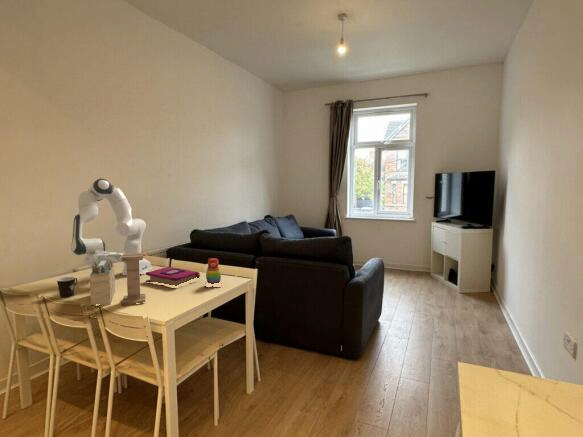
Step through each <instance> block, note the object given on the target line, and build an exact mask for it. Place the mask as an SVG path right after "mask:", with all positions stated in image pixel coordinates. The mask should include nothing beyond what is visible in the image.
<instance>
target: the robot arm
mask: <svg viewBox="0 0 583 437" xmlns="http://www.w3.org/2000/svg"><path fill="white" fill-rule="evenodd" d="M103 199H106V200H107V201H108V202H109V204H110V207H111V208H112V210H113V212H114V215H115V217H116V221H117V225H116V232H117V234H118V235H119V236H121V237H126V240H125V242H124V243H123V252H115V251H106V243H105V242H104V240H103V239H101V238H100V237H96V238H95V237H94V238H83V225H84V224H86V223H89V222H91V221H93V220H96V219H97V217H98V216H99V205H98V202H99V201H102V200H103ZM77 207H78V213H77V214H76V215H75V216H74V219H73V225H72V226H73V227H72V238H71V239H72V241H71V247H70V248H71V249H70V250H71V251H72V254H73V253H74V254H75V255H76V256H81V255H85V256H84V257H83V264H85V265H87V266H89V267H92V265H94V262H95V261H97V265H98V264H99V262H100V261H101V259H108V258H109V261H111V260H112V263H117V261H122V256H123V254H128V253H143V260H139V268H140V274H144V273H146V272H148V270H149V269H152V268H153V267H152V264H151V262H150V261H149V260H147V259H146V258H144V257H146V256H147V253H144V252H142V241H143V240H142V239H143V237H144V236H143V235H144V232H145V230H146V228H147V223H146V221H144V219H142V218H133V216H132V211H133V208H132V207H131V204H130V203H129V201H128V199H127V197H126V195H125V194H124V193H123V191H122V190H121V189H120V188H119V187H114V185H113V184H112V183H111V182H110V181H109V180H108V179H106V178H98V179H96V180H95V181H94V182H93V183H92V184H91V185H90V187H89V188H88V190H85V191H82V192H81V193H79V195H78V198H77ZM123 262H124V263H123V270H122V275H123V276H126V277H127V265H126V261H123ZM144 275H145V274H144Z"/></svg>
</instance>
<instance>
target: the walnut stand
mask: <svg viewBox="0 0 583 437" xmlns="http://www.w3.org/2000/svg"><path fill="white" fill-rule="evenodd" d="M143 253H144V252H141V253H128V254H123V256H122V260H121V262H124V261H126V265H127V276H126V284H127V286H126V287H127V291H126V292H127V295H123V297H122V302H121V305H122V307H125V305H128V306H130V305H129V304H136V303H143V302H145V303H146V293H141V275H140V268H139V260H143V257H144V256H143Z"/></svg>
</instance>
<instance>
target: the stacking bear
mask: <svg viewBox="0 0 583 437" xmlns="http://www.w3.org/2000/svg"><path fill="white" fill-rule="evenodd" d="M219 263H220V262H219V258H218V257H216V258H213V257H212V258H208V259H207V266H208V267H207V269H206V273H205V278H206V279H205V280H206V283H207V282H208V283H211V284H214V283H219V282H221V281H222V280H221V279H222V273H221V269H220V266H219Z"/></svg>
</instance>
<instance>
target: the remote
mask: <svg viewBox="0 0 583 437" xmlns="http://www.w3.org/2000/svg"><path fill="white" fill-rule="evenodd" d="M108 264H110V261H109V258H108V259H101V261H100V262H99V264H98V265H97V267H96V273H99V271H98V267H101V273H104V272H105V271H106V269H107V267H108Z"/></svg>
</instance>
